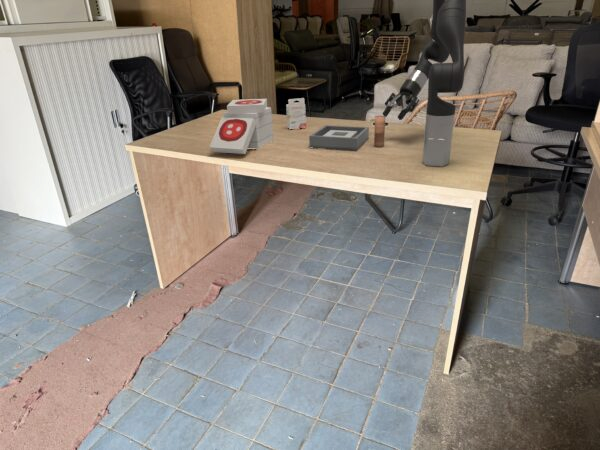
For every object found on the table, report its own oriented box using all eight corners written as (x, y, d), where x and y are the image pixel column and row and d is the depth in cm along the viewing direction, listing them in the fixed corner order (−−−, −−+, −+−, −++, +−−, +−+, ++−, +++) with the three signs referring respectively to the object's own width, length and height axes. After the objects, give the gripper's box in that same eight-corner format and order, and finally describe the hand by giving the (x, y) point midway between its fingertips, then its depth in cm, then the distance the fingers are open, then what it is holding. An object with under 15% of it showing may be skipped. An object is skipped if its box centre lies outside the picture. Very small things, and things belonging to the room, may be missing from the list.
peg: (382, 147, 170) (384, 117, 165) (373, 147, 171) (374, 117, 166) (384, 145, 173) (386, 115, 168) (375, 144, 175) (376, 115, 169)
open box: (356, 151, 167) (356, 138, 165) (309, 147, 174) (309, 135, 172) (368, 138, 184) (368, 127, 182) (325, 136, 191) (325, 125, 189)
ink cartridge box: (303, 126, 211) (302, 96, 204) (306, 128, 206) (305, 97, 200) (287, 128, 209) (285, 97, 203) (289, 130, 205) (287, 99, 198)
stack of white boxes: (206, 156, 170) (200, 110, 162) (242, 138, 195) (238, 97, 187) (248, 159, 163) (243, 112, 155) (280, 140, 188) (277, 98, 180)
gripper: (396, 77, 174) (374, 109, 174) (423, 79, 163) (399, 114, 163) (405, 89, 179) (383, 120, 178) (431, 92, 168) (408, 125, 167)
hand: (391, 117), depth 170 cm, fingers open, 8 cm apart
